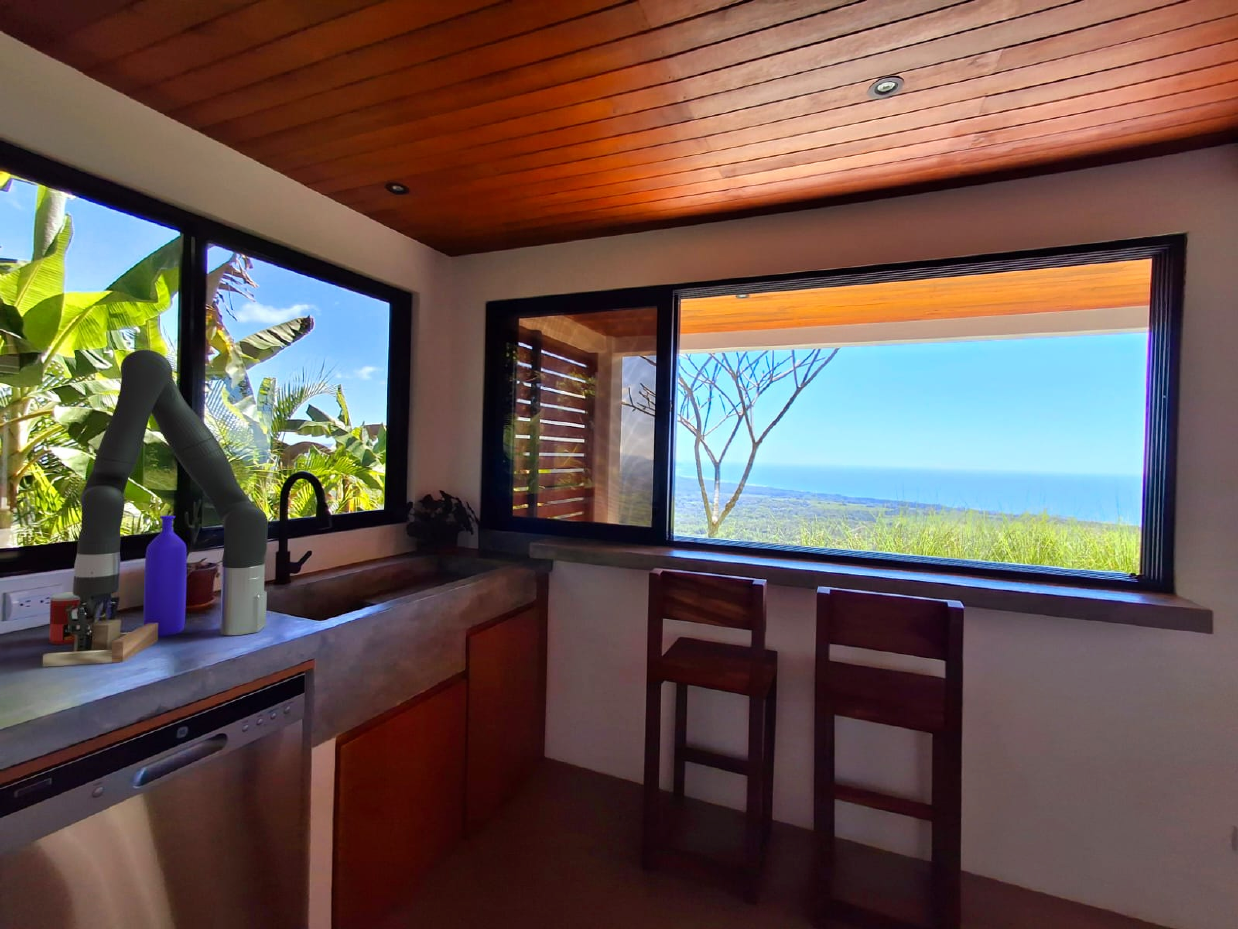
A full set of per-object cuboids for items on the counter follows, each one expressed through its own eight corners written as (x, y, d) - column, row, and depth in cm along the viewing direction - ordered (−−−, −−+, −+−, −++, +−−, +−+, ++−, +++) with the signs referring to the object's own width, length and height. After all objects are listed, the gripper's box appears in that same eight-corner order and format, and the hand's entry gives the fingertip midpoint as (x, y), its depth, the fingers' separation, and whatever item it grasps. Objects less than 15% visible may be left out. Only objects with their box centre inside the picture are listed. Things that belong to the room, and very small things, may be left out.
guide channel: (157, 641, 131) (158, 622, 131) (122, 661, 118) (123, 641, 118) (87, 645, 127) (87, 626, 127) (42, 666, 114) (43, 645, 114)
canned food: (65, 646, 127) (66, 599, 127) (39, 642, 128) (41, 596, 128) (102, 636, 134) (103, 592, 134) (77, 633, 136) (79, 589, 136)
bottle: (191, 630, 140) (195, 515, 140) (153, 639, 133) (156, 518, 133) (174, 625, 144) (177, 513, 144) (135, 634, 136) (139, 516, 136)
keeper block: (118, 649, 125) (121, 619, 125) (106, 656, 121) (108, 625, 121) (87, 650, 123) (89, 620, 124) (73, 657, 119) (75, 625, 119)
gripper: (96, 578, 116) (90, 658, 116) (135, 567, 130) (130, 637, 130) (53, 578, 114) (47, 659, 114) (97, 566, 128) (92, 638, 128)
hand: (91, 647), depth 122 cm, fingers closed on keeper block, 4 cm apart
